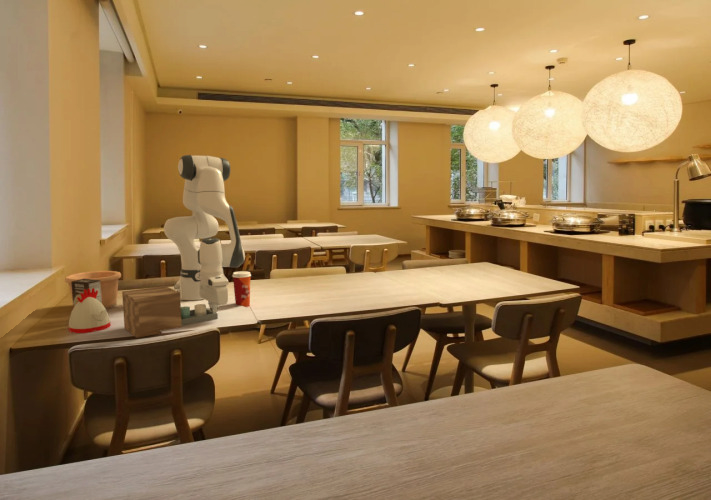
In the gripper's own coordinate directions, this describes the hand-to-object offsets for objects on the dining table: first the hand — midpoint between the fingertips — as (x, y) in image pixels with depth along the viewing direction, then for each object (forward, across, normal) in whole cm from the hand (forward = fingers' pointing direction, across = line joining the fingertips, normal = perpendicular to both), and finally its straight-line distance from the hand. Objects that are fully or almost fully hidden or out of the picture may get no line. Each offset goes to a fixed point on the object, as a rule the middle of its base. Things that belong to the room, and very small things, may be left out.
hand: (213, 312), depth 199 cm
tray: (+2, 0, -8) cm, 9 cm away
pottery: (+2, -52, -32) cm, 62 cm away
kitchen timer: (+3, -17, -42) cm, 45 cm away
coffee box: (+2, -30, -40) cm, 50 cm away
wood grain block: (+2, 0, -24) cm, 24 cm away
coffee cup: (+2, -11, +18) cm, 21 cm away
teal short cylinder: (+1, 0, -12) cm, 12 cm away
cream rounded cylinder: (+1, 0, -5) cm, 6 cm away
